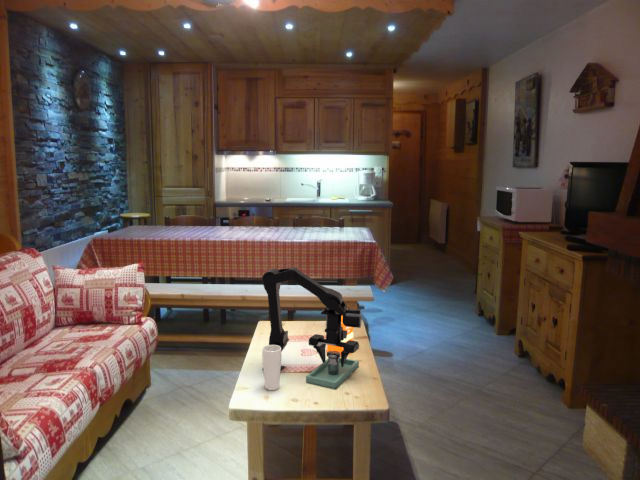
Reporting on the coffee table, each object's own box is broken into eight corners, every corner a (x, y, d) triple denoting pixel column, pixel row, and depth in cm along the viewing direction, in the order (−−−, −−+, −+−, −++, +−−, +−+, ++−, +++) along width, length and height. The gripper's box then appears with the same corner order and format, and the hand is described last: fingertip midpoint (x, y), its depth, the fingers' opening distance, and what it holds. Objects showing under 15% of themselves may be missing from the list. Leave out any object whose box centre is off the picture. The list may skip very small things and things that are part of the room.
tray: (335, 389, 184) (335, 382, 183) (305, 382, 189) (305, 376, 188) (358, 367, 203) (358, 361, 203) (331, 361, 208) (331, 355, 208)
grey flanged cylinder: (336, 377, 192) (337, 357, 191) (324, 374, 195) (324, 354, 193) (342, 371, 197) (342, 352, 196) (330, 369, 199) (330, 349, 198)
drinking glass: (260, 385, 187) (260, 345, 184) (278, 382, 189) (278, 343, 187) (265, 393, 180) (264, 352, 178) (283, 390, 183) (283, 350, 180)
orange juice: (353, 350, 220) (353, 305, 217) (342, 357, 213) (342, 311, 209) (337, 346, 224) (338, 302, 221) (326, 353, 217) (326, 307, 214)
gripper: (364, 323, 196) (363, 361, 198) (320, 316, 204) (320, 353, 206) (353, 331, 186) (352, 372, 188) (307, 324, 194) (307, 363, 197)
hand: (333, 364), depth 195 cm, fingers open, 7 cm apart
